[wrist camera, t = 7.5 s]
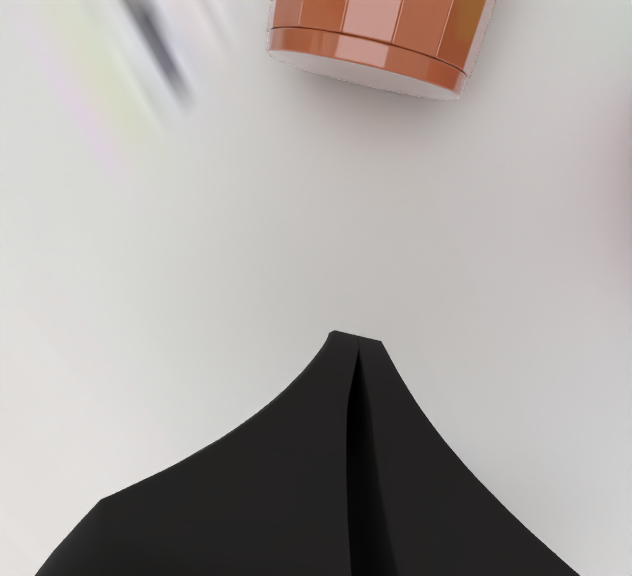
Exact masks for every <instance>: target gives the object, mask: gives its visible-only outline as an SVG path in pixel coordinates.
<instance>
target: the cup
mask: <svg viewBox="0 0 632 576" xmlns="http://www.w3.org/2000/svg"><path fill="white" fill-rule="evenodd" d="M495 3H496V0H271V3H270V11H269V19H268V27H267V32H268V39H267V46H266V52H267V54H268V55H269V56H271V57H273V58H274V59H277V60H279V61H281V62H284V63H286V64H289V65H292V66H295V67H298V68H301V69H304V70H307V71H310V72H314V73H317V74H320V75H324V76H327V77H331V78H335V79H339V80H343V81H346V82H350V83H355V84H359V85H363V86H367V87H372V88H376V89H381V90H386V91H391V92H396V93H401V94H406V95H412V96H418V97H425V98H432V99H441V100H456V99H460V98H461V97H462V94H463V91H464V88H465V85H466V82H467V79H468V78H470V76H471V73H472V70H473V67H474V64H475V61H476V58H477V55H478V53H479V50H480V47H481V44H482V41H483V38H484V35H485V32H486V29H487V26H488V23H489V20H490V17H491V14H492V11H493V8H494V6H495Z"/></svg>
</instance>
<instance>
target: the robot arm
mask: <svg viewBox="0 0 632 576" xmlns="http://www.w3.org/2000/svg"><path fill="white" fill-rule="evenodd" d="M35 576H580V575H579V574H578V573H576V572H575V571H574V570H573V569H572V568H571V567H569V566H568V565H567V564H566V563H565V562H564V561H563V560H562V559H560V558H559V557H558V556H557V555H556V554H555V553H554V552H553V551H552V550H550V549H549V548H548V547H547V546H546V545H545V544H544V543H543V542H542V541H540V540H539V539H538V538H537V537H536V536H535V535H534V534H533V533H531V532H530V531H529V530H528V529H527V528H526V527H525V526H524V525H523V524H522V523H521V522H520V521H519V520H518V519H517V518H516V517H515V516H514V515H513V514H511V513H510V512H509V511H508V510H507V509H506V508H505V507H504V506H503V505H502V504H501V503H500V501H499V500H498V499H497V498H496V497H495V496H494V495H493V494H492V493H491V492H490V491H489V490H488V489H487V488H486V487H485V486H484V485H483V484H482V483H481V482H480V481H479V480H478V479H477V478H476V477H475V476H474V474H473V473H472V472H471V471H470V470H469V469H468V468H467V467H466V466H465V465H464V463H463V462H462V461H461V460H460V459H459V457H458V456H457V455H456V454H455V453H454V451H453V450H452V449H451V448H450V447H449V446H448V444H447V443H446V442H445V441H444V440H443V438H442V437H441V436H440V434H439V433H438V432H437V431H436V429H435V428H434V427H433V425H432V424H431V422H430V421H429V420H428V418H427V417H426V415H425V414H424V413H423V411H422V410H421V408H420V407H419V405H418V404H417V402H416V401H415V399H414V398H413V396H412V394H411V393H410V391H409V390H408V388H407V386H406V385H405V383H404V381H403V380H402V378H401V376H400V375H399V373H398V371H397V369H396V367H395V366H394V364H393V362H392V360H391V358H390V356H389V355H388V353H387V351H386V349H385V347H384V345H383V344H382V342H381V341H378V340H374V339H370V338H365V337H361V336H357V335H352V334H348V333H344V332H340V331H335V330H334V331H332V332H330V333H329V335H328V338H327V340H326V342H325V343H324V345H323V346H322V348H321V349H320V351H319V352H318V353H317V355H316V356H315V357H314V359H313V360H312V361H311V362H310V363H309V365H308V366H307V367H306V368H305V369H304V370H303V372H302V373H301V374H300V375H299V376H298V377H297V378H296V379H295V380H294V381H293V382H292V383H291V384H290V385H289V386H288V387H287V388H286V389H285V390H284V391H283V392H281V393H280V394H279V395H278V396H277V397H276V398H275V399H274V400H272V401H271V402H270V403H269V404H268V405H266V406H265V407H264V408H263V409H261V410H260V411H259V412H258V413H256V414H255V415H254V416H252V417H251V418H249V419H248V420H247V421H245V422H244V423H242V424H241V425H240V426H238V427H237V428H235V429H234V430H232V431H231V432H229V433H228V434H226V435H225V436H223V437H222V438H220V439H219V440H217V441H215V442H213V443H212V444H210V445H208V446H206V447H205V448H203V449H201V450H200V451H198V452H196V453H194V454H193V455H191V456H189V457H187V458H186V459H184V460H182V461H180V462H179V463H177V464H175V465H173V466H171V467H169V468H167V469H165V470H163V471H161V472H159V473H157V474H155V475H153V476H150V477H148V478H146V479H144V480H142V481H140V482H138V483H136V484H134V485H131V486H129V487H127V488H125V489H123V490H121V491H119V492H117V493H115V494H112V495H110V496H108V497H105V498H103V499H101V500H100V501H99V502H98V503H97V504H96V505H95V506H94V507H93V508H92V509H91V510H90V511H89V512H88V514H87V515H86V516H85V517H84V518H83V519H82V520H81V521H80V522H79V523H78V524H77V525H76V527H75V528H74V529H73V530H72V531H71V532H70V534H69V535H68V536H67V537H66V538H65V539H64V540H63V541H62V542H61V543H60V544H59V546H58V547H57V548H56V549H55V550H54V551H53V553H52V554H51V555H50V556H49V558H48V559H47V560H46V562H45V563H44V564H43V565H42V567H41V568H40V569H39V571H38V572H37V573H36V575H35Z"/></svg>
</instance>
